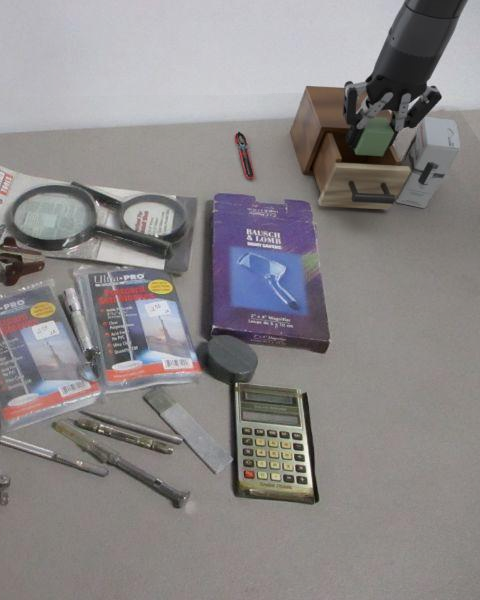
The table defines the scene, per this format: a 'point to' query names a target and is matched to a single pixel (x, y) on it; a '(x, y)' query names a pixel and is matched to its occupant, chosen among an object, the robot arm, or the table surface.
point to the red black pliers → (244, 155)
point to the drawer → (356, 175)
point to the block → (375, 137)
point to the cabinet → (320, 121)
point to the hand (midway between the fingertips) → (366, 146)
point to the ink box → (428, 160)
